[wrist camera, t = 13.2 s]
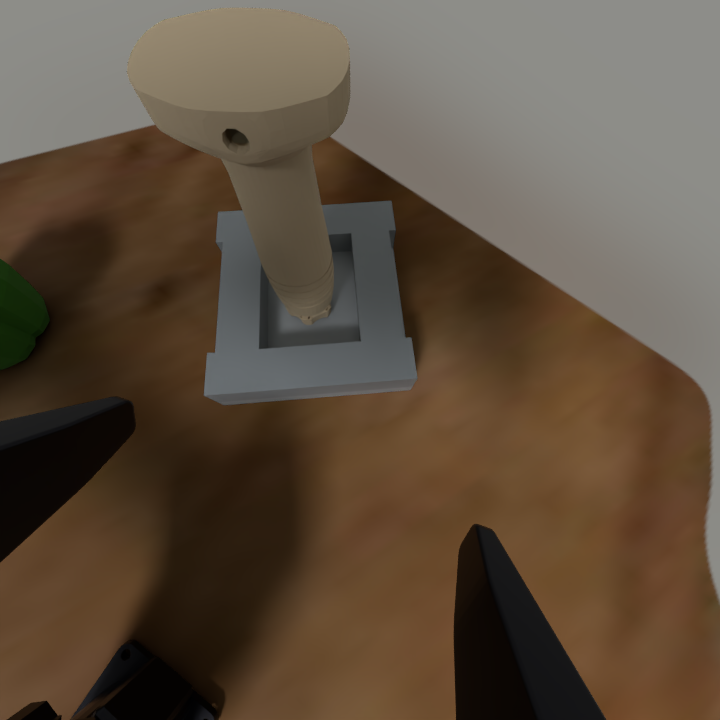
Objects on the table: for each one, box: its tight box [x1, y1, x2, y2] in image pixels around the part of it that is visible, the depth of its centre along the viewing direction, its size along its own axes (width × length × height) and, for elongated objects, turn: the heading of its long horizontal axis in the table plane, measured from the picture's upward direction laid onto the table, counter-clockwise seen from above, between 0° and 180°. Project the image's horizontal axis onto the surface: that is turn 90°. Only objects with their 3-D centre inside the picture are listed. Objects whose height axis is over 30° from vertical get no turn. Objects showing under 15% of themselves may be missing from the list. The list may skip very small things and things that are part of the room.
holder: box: [204, 201, 417, 405], centre depth 23 cm, size 14×13×3 cm
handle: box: [127, 8, 350, 325], centre depth 16 cm, size 5×6×15 cm
